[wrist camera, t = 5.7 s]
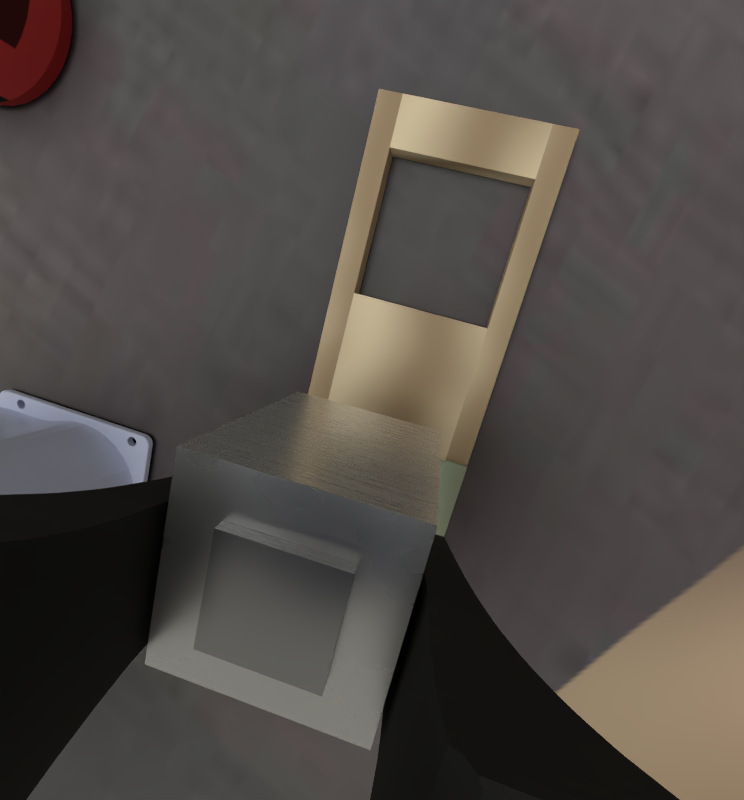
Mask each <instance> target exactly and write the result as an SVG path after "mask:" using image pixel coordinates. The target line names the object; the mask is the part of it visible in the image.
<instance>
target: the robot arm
mask: <svg viewBox="0 0 744 800" xmlns="http://www.w3.org/2000/svg"><path fill="white" fill-rule="evenodd" d="M24 403H25V404H24ZM133 438H135V440H136V444H135V443H134V441H133ZM152 447H153V442H152V439H151V438H150V437H149V436H148V435H147V434H144V433H141V432H138V431H135V430H132V429H129V428H126V427H123V426H120V425H117V424H114V423H111V422H108V421H105V420H102V419H99V418H96V417H93V416H90V415H87V414H84V413H81V412H78V411H75V410H72V409H69V408H66V407H63V406H60V405H57V404H54V403H51V402H48V401H45V400H42V399H39V398H36V397H33V396H30V395H27V394H24V393H21V392H18V391H15V390H4V391H2V392H1V393H0V800H26V799H27V798H28V796H29V795H30V794H31V792H32V791H33V790H34V788H35V787H36V785H37V784H38V783H39V781H40V780H41V779H42V777H43V776H44V774H45V773H46V772H47V770H48V769H49V767H50V766H51V765H52V763H53V762H54V761H55V759H56V758H57V757H58V755H59V754H60V753H61V751H62V750H63V749H64V747H65V746H66V745H67V743H68V742H69V741H70V739H71V738H72V737H73V735H74V734H75V733H76V731H77V730H78V729H79V728H80V726H81V725H82V724H83V722H84V721H85V720H86V718H87V717H88V716H89V714H90V713H91V712H92V710H93V709H94V708H95V706H96V705H97V704H98V703H99V701H100V700H101V699H102V698H103V696H104V695H105V694H106V693H107V691H108V690H109V689H110V688H111V686H112V685H113V684H114V682H115V681H116V680H117V679H118V677H119V676H120V675H121V674H122V672H123V671H124V670H125V669H126V667H127V666H128V665H129V664H130V662H131V661H132V660H133V659H134V658H135V657H136V656H137V655H138V653H139V652H140V651H141V650H142V649H143V648H144V647H145V646H146V644H147V643H148V639H149V632H150V625H151V618H152V611H153V605H154V598H155V591H156V584H157V577H158V570H159V564H160V557H161V550H162V543H163V536H164V530H165V523H166V516H167V509H168V502H169V495H170V489H171V482H172V477H168V478H163V479H158V480H153V481H147V480H148V473H149V467H150V460H151V453H152ZM370 800H679V799H678V798H677V797H675V796H674V795H673V794H671V793H670V792H669V791H667V790H666V789H665V788H664V787H663V786H662V785H660V784H659V783H658V782H656V781H655V780H654V779H653V778H651V777H650V776H649V775H648V774H646V773H645V772H643V771H642V770H641V769H640V768H639V767H637V766H636V765H635V764H634V763H632V762H631V761H630V760H628V759H627V758H626V757H625V756H624V755H622V754H621V753H620V752H619V751H618V750H617V749H615V748H614V747H613V746H612V745H611V744H610V743H609V742H607V741H606V740H605V739H604V738H603V737H602V736H601V735H600V734H598V733H597V732H596V731H595V730H594V729H593V728H592V727H591V726H590V725H588V724H587V723H586V722H585V721H584V720H583V719H582V718H581V717H580V716H579V715H577V714H576V713H575V712H574V711H573V710H572V709H571V708H570V707H569V706H568V705H567V704H566V703H565V702H564V701H563V700H562V699H561V698H560V697H559V696H558V695H557V694H556V693H555V692H554V691H553V690H552V689H551V688H550V687H549V686H548V685H547V684H546V683H545V682H544V681H543V680H542V679H541V677H540V676H539V675H538V674H537V673H536V672H535V671H534V670H533V669H532V668H531V667H530V666H529V665H528V663H527V662H526V661H525V660H524V659H523V658H522V657H521V656H520V654H519V653H518V652H517V651H516V649H515V648H514V647H513V646H512V645H511V643H510V642H509V641H508V640H507V638H506V637H505V636H504V635H503V633H502V632H501V631H500V630H499V628H498V627H497V626H496V624H495V623H494V622H493V620H492V619H491V617H490V616H489V614H488V613H487V611H486V610H485V608H484V607H483V606H482V604H481V603H480V601H479V600H478V598H477V596H476V595H475V593H474V592H473V590H472V588H471V587H470V585H469V583H468V582H467V580H466V578H465V577H464V575H463V573H462V571H461V569H460V567H459V565H458V563H457V562H456V560H455V558H454V556H453V554H452V552H451V550H450V548H449V546H448V544H447V542H446V540H445V538H444V537H443V536H440V535H437V534H435V536H434V540H433V543H432V546H431V550H430V553H429V556H428V560H427V563H426V566H425V570H424V573H423V576H422V580H421V583H420V586H419V590H418V593H417V596H416V600H415V603H414V606H413V609H412V613H411V616H410V619H409V623H408V626H407V629H406V633H405V636H404V639H403V643H402V646H401V649H400V653H399V656H398V659H397V663H396V666H395V669H394V673H393V676H392V679H391V683H390V686H389V689H388V693H387V696H386V699H385V703H384V706H383V716H382V727H381V737H380V745H379V752H378V759H377V765H376V771H375V776H374V782H373V787H372V793H371V798H370Z"/></svg>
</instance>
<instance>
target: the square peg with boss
mask: <svg viewBox="0 0 744 800" xmlns="http://www.w3.org/2000/svg"><path fill="white" fill-rule="evenodd" d="M441 436H442V431H439V430H435V429H432V428H428V427H425V426H421V425H417V424H414V423H410V422H407V421H403V420H399V419H396V418H392V417H389V416H385V415H381V414H378V413H374V412H371V411H367V410H364V409H360V408H356V407H353V406H349V405H346V404H342V403H338V402H335V401H331V400H328V399H324V398H320V397H317V396H313V395H310V394H306V393H302V392H299V391H298V392H296V393H294V394H291V395H289V396H287V397H285V398H283V399H280V400H278V401H276V402H274V403H271V404H269V405H267V406H265V407H262V408H260V409H258V410H256V411H253V412H251V413H249V414H247V415H245V416H242V417H240V418H238V419H236V420H233V421H231V422H229V423H227V424H224V425H222V426H220V427H218V428H216V429H213V430H211V431H209V432H207V433H204V434H202V435H200V436H198V437H195V438H193V439H191V440H189V441H187V442H184V443H182V444H180V445H178V446H177V448H176V455H175V461H174V468H173V475H172V482H171V489H170V495H169V502H168V509H167V516H166V523H165V530H164V536H163V543H162V550H161V557H160V564H159V570H158V577H157V584H156V591H155V598H154V605H153V611H152V618H151V625H150V632H149V639H148V645H147V652H146V659H145V665H148V666H151V667H153V668H156V669H159V670H161V671H164V672H166V673H169V674H172V675H174V676H177V677H180V678H182V679H185V680H187V681H190V682H193V683H195V684H198V685H201V686H203V687H206V688H208V689H211V690H214V691H216V692H219V693H222V694H224V695H227V696H229V697H232V698H235V699H237V700H240V701H243V702H245V703H248V704H250V705H253V706H256V707H258V708H261V709H264V710H266V711H269V712H271V713H274V714H277V715H279V716H282V717H285V718H287V719H290V720H292V721H295V722H298V723H300V724H303V725H306V726H308V727H311V728H313V729H316V730H319V731H321V732H324V733H327V734H329V735H332V736H334V737H337V738H340V739H342V740H345V741H348V742H350V743H353V744H355V745H358V746H361V747H363V748H366V749H369V750H370V749H371V746H372V743H373V739H374V736H375V733H376V729H377V726H378V723H379V719H380V716H381V713H382V709H383V706H384V703H385V699H386V696H387V693H388V689H389V686H390V683H391V679H392V676H393V673H394V669H395V666H396V663H397V659H398V656H399V653H400V649H401V646H402V643H403V639H404V636H405V633H406V629H407V626H408V623H409V619H410V616H411V613H412V609H413V606H414V603H415V600H416V596H417V593H418V590H419V586H420V583H421V580H422V576H423V573H424V570H425V566H426V563H427V560H428V556H429V553H430V550H431V546H432V543H433V540H434V536H435V533H436V530H437V526H438V506H439V482H440V459H441Z"/></svg>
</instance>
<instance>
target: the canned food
mask: <svg viewBox="0 0 744 800" xmlns="http://www.w3.org/2000/svg"><path fill="white" fill-rule="evenodd" d="M71 36H72V11H71V3H70V0H0V105H4V106H16V105H21V104H26V103H28V102H30V101H32V100H34V99H36V98H38V97H39V96H40V95H42V94H43V93H44V92H45V91H47V90H48V88H49V87H50V86H51V85H52V84H53V82H54V81H55V80H56V79H57V77H58V75H59V73H60V72H61V70H62V68H63V66H64V64H65V61H66V58H67V55H68V52H69V48H70V42H71Z"/></svg>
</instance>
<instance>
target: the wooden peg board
mask: <svg viewBox="0 0 744 800" xmlns="http://www.w3.org/2000/svg"><path fill="white" fill-rule="evenodd" d="M579 130H580V129H575V128H570V127H565V126H560V125H555V124H551V123H546V122H541V121H536V120H531V119H526V118H521V117H516V116H511V115H506V114H501V113H496V112H491V111H486V110H481V109H477V108H472V107H467V106H462V105H457V104H452V103H447V102H442V101H437V100H432V99H427V98H422V97H417V96H412V95H407V94H402V93H398V92H393V91H388V90H383V89H379V91H378V95H377V100H376V104H375V108H374V113H373V117H372V121H371V126H370V130H369V134H368V138H367V143H366V147H365V151H364V156H363V160H362V164H361V169H360V173H359V177H358V181H357V186H356V190H355V194H354V199H353V203H352V207H351V212H350V216H349V220H348V224H347V229H346V233H345V237H344V242H343V246H342V250H341V255H340V259H339V263H338V267H337V272H336V276H335V280H334V285H333V289H332V293H331V298H330V302H329V306H328V310H327V315H326V319H325V323H324V328H323V332H322V336H321V341H320V345H319V349H318V354H317V358H316V362H315V366H314V371H313V375H312V379H311V384H310V388H309V392H308V394H310V395H313V396H317V397H320V398H324V399H328V400H331V401H335V402H338V403H342V404H346V405H349V406H353V407H356V408H360V409H364V410H367V411H371V412H374V413H378V414H381V415H385V416H389V417H392V418H396V419H399V420H403V421H407V422H410V423H414V424H417V425H421V426H425V427H428V428H432V429H435V430H439V431H442V436H441V459H440V482H439V506H438V526H437V530H436V533H435V534H437V535H440V536H443V537H444V536H445V533H446V530H447V527H448V524H449V521H450V518H451V515H452V512H453V509H454V506H455V503H456V500H457V497H458V494H459V491H460V488H461V485H462V482H463V479H464V476H465V473H466V470H467V465H468V462H469V459H470V456H471V453H472V450H473V447H474V444H475V441H476V438H477V435H478V432H479V429H480V426H481V423H482V420H483V417H484V414H485V411H486V408H487V405H488V402H489V399H490V396H491V393H492V390H493V387H494V384H495V381H496V378H497V375H498V372H499V369H500V366H501V363H502V360H503V357H504V354H505V351H506V348H507V345H508V342H509V339H510V336H511V333H512V330H513V327H514V324H515V321H516V318H517V315H518V312H519V309H520V306H521V303H522V300H523V297H524V294H525V291H526V288H527V285H528V282H529V279H530V276H531V273H532V270H533V267H534V264H535V261H536V258H537V255H538V252H539V249H540V246H541V243H542V240H543V237H544V234H545V231H546V228H547V225H548V222H549V219H550V216H551V213H552V210H553V207H554V204H555V201H556V198H557V195H558V192H559V189H560V186H561V183H562V180H563V177H564V174H565V171H566V168H567V165H568V162H569V159H570V156H571V153H572V151H573V148H574V145H575V142H576V139H577V136H578V133H579ZM393 157H397V158H402V159H406V160H411V161H415V162H420V163H424V164H429V165H433V166H438V167H442V168H447V169H451V170H456V171H460V172H465V173H469V174H474V175H478V176H483V177H487V178H492V179H496V180H501V181H505V182H510V183H514V184H519V185H523V186H528V187H531V188H530V191H529V194H528V197H527V200H526V204H525V207H524V210H523V213H522V216H521V219H520V222H519V225H518V229H517V232H516V235H515V238H514V241H513V244H512V247H511V250H510V254H509V257H508V260H507V263H506V266H505V269H504V272H503V276H502V279H501V282H500V285H499V288H498V291H497V294H496V297H495V301H494V304H493V307H492V310H491V313H490V316H489V319H488V323H487V326H486V328H484V327H480V326H476V325H472V324H469V323H465V322H461V321H458V320H454V319H450V318H446V317H443V316H439V315H435V314H431V313H428V312H424V311H420V310H416V309H413V308H409V307H405V306H401V305H398V304H394V303H390V302H387V301H383V300H379V299H375V298H372V297H368V296H364V295H360V294H359V292H360V288H361V284H362V280H363V276H364V272H365V267H366V263H367V259H368V255H369V251H370V247H371V243H372V239H373V235H374V231H375V227H376V223H377V219H378V215H379V211H380V207H381V203H382V199H383V195H384V191H385V186H386V182H387V178H388V174H389V170H390V166H391V162H392V158H393Z"/></svg>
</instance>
